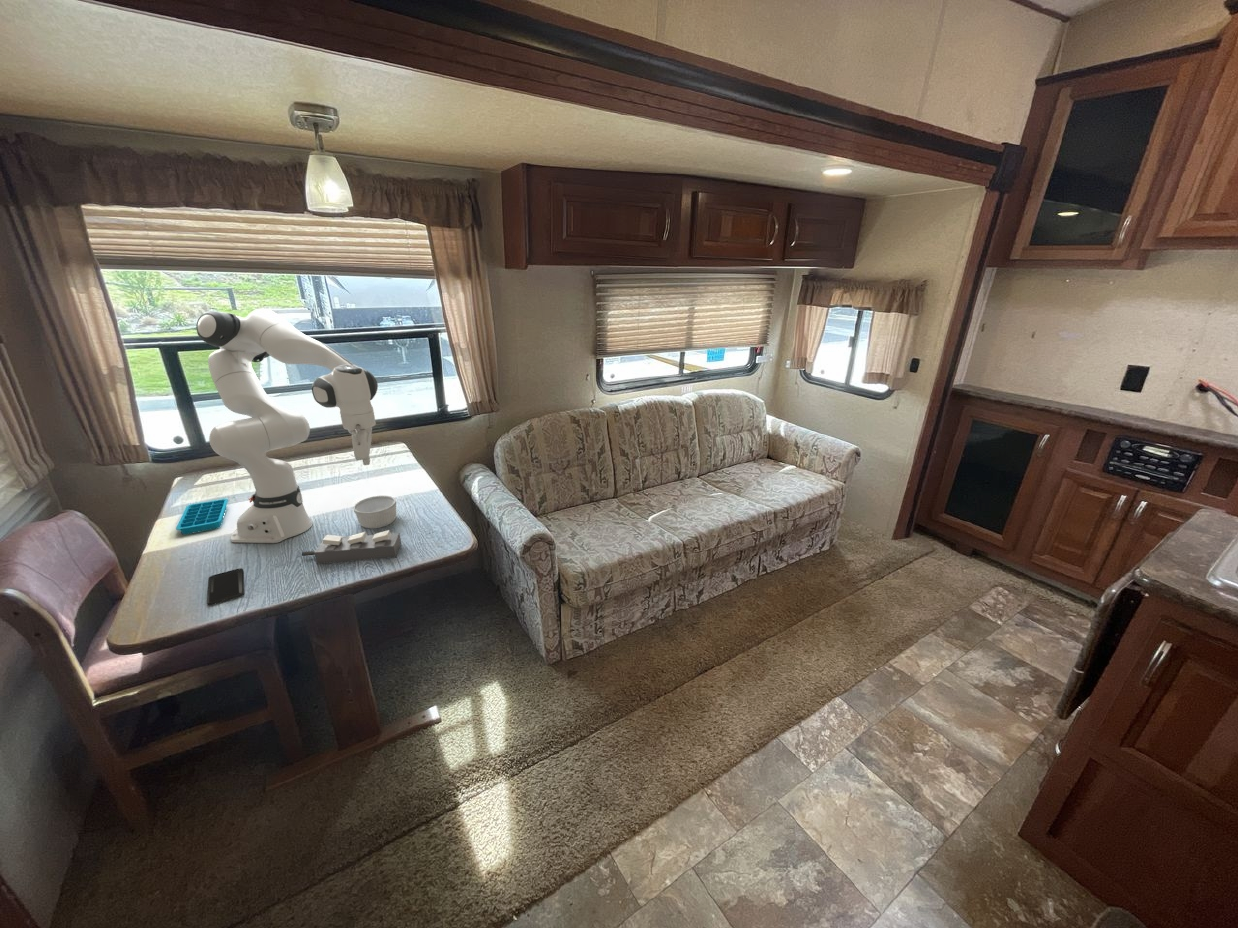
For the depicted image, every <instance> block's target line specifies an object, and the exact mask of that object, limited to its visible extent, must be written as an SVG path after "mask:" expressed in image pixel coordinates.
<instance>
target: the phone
mask: <svg viewBox="0 0 1238 928" xmlns="http://www.w3.org/2000/svg"><path fill="white" fill-rule="evenodd" d="M244 573H245V572H244V569H243V568H242V567H239V568H236V569H235V568H234V569H231V570H227V571H224V572H220V573H216V574H214V575H211V576H209V577H208V579H207V593H206V595H207V596H206V604H207V606H210V607H211V606H215V605H218V604H219V605H220V604H223V603H225V602H229V601H233V600H236V599H239V598H242V597H244V596H245V580H244V579H245V575H244Z"/></svg>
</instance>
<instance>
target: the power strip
mask: <svg viewBox="0 0 1238 928" xmlns="http://www.w3.org/2000/svg"><path fill="white" fill-rule="evenodd" d="M366 535H367V536H366V538H365V540H364V541H361V542H357V543H353V544H350V545H349V543H348V539H349V537H350V536H342V541H341V543H340V544H339V545H330V544H323V539H322V540H321V542H320V543H319V545H318V546H317V547H316V549H315V550H311V551H310V550H309V551H302V552H301V557H305V556H307V557H309V556H314V558H315V562H316V565H321V564H334V563H345V562H357V561H367V560H368V561H369V560H370V561H371V560H380V559H382V560H383V559H393V558H396V557H397V555H398V552H399V551H400V548H401V545H402V541H401V534H400V533H399V532H395V533H394V532H393V533H391V535H390V537H389V539H386V540H382V541H378V542H375V543H374V541H373V537H374V535H375V534H369V535H368V534H366Z"/></svg>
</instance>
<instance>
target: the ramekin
mask: <svg viewBox="0 0 1238 928" xmlns="http://www.w3.org/2000/svg"><path fill="white" fill-rule="evenodd" d="M352 509H353V513H354V514H355V516H356V519H357V521H358V523H359V525H360V526H362V527H363V528H364V529H372V530H373V529H379V528H384V527H387V526H388V525H390V524H392V523H393V522H394V521H395V519H396V517H397V501H396V499H395V498H394V497H393V496H390V495H374V496H369V497H366V498H363V499H361V500H359V501H357V502H356V503H355V504H354V505H353V508H352Z"/></svg>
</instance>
